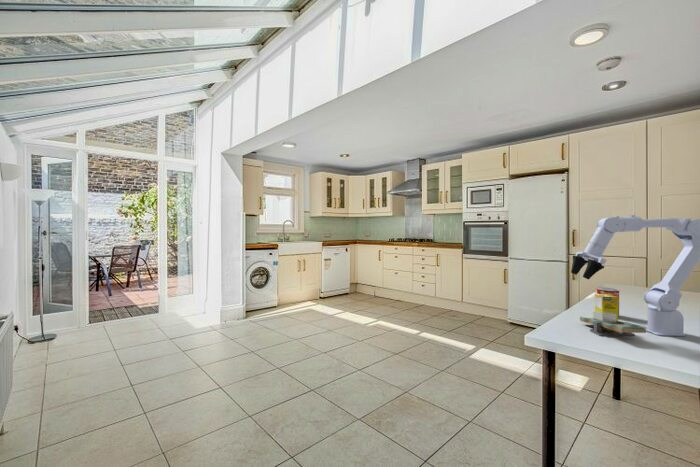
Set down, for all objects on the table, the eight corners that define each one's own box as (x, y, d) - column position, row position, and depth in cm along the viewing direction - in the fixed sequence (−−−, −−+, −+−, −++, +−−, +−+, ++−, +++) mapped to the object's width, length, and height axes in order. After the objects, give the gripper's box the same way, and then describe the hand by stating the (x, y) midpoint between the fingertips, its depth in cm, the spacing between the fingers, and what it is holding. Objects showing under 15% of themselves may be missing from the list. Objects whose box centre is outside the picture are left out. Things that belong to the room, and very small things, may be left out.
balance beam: (579, 320, 131) (579, 316, 131) (600, 321, 131) (600, 316, 131) (621, 332, 109) (620, 327, 110) (646, 332, 109) (646, 327, 109)
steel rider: (607, 320, 125) (606, 311, 125) (616, 323, 120) (616, 313, 120) (593, 320, 125) (593, 311, 126) (602, 323, 120) (602, 313, 121)
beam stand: (590, 331, 122) (590, 320, 122) (623, 331, 121) (623, 320, 121) (599, 335, 117) (599, 324, 117) (634, 336, 116) (634, 324, 116)
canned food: (603, 317, 141) (603, 290, 141) (593, 312, 149) (593, 287, 148) (623, 317, 139) (623, 290, 139) (611, 313, 147) (611, 287, 147)
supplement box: (618, 323, 132) (618, 297, 132) (602, 322, 133) (602, 296, 133) (610, 319, 138) (610, 294, 138) (594, 318, 139) (594, 293, 139)
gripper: (576, 239, 132) (559, 267, 134) (600, 243, 118) (581, 276, 120) (591, 246, 132) (575, 274, 134) (618, 252, 118) (599, 284, 119)
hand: (579, 275), depth 127 cm, fingers open, 7 cm apart
